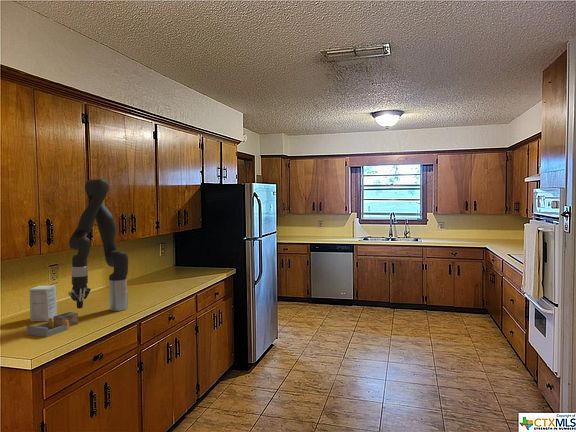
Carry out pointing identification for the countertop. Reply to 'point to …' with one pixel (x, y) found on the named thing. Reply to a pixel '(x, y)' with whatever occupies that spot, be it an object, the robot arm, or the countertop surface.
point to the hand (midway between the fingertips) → (79, 308)
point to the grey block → (70, 316)
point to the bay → (46, 329)
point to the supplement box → (43, 303)
